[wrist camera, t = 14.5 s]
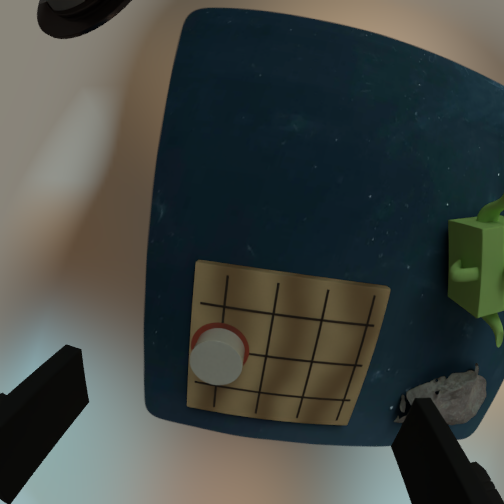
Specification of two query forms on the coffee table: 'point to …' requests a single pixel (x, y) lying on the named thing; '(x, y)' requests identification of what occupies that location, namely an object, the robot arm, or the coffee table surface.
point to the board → (287, 341)
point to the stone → (451, 396)
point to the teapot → (479, 264)
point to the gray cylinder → (217, 356)
